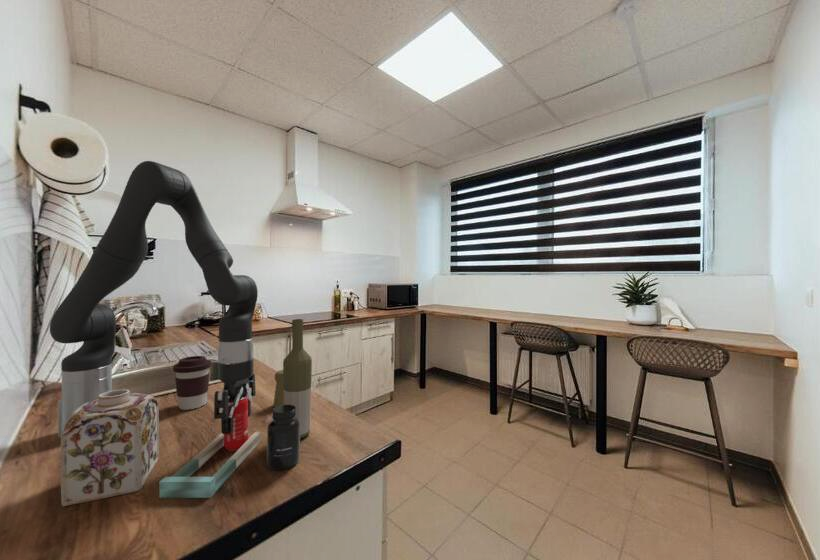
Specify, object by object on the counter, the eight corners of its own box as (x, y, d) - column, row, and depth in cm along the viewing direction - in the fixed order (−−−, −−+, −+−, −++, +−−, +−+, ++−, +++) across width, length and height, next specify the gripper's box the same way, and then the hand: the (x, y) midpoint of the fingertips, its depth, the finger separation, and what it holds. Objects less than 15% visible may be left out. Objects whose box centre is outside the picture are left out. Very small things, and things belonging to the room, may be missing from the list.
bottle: (300, 425, 89) (300, 317, 88) (317, 433, 85) (317, 319, 84) (277, 436, 83) (277, 320, 82) (294, 444, 79) (294, 322, 78)
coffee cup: (217, 403, 103) (217, 357, 103) (182, 415, 95) (182, 364, 94) (202, 397, 108) (201, 352, 108) (167, 407, 100) (167, 359, 100)
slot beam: (159, 497, 60) (159, 481, 60) (223, 439, 81) (223, 427, 81) (210, 497, 60) (210, 481, 60) (261, 439, 81) (261, 427, 81)
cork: (268, 406, 101) (268, 372, 101) (283, 399, 107) (283, 366, 106) (283, 410, 99) (283, 374, 99) (297, 402, 104) (297, 369, 104)
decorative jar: (58, 509, 57) (56, 408, 57) (91, 472, 68) (90, 386, 67) (142, 491, 62) (141, 398, 61) (161, 459, 72) (160, 379, 72)
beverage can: (237, 453, 75) (237, 402, 75) (218, 450, 76) (218, 400, 76) (252, 441, 80) (252, 393, 80) (234, 439, 81) (234, 392, 81)
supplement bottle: (280, 475, 67) (280, 418, 67) (260, 464, 71) (260, 410, 70) (306, 459, 73) (306, 406, 73) (287, 450, 76) (287, 400, 76)
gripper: (236, 350, 85) (237, 412, 85) (201, 366, 71) (202, 439, 71) (264, 350, 85) (265, 411, 85) (236, 366, 71) (236, 439, 71)
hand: (237, 424), depth 78 cm, fingers open, 8 cm apart
